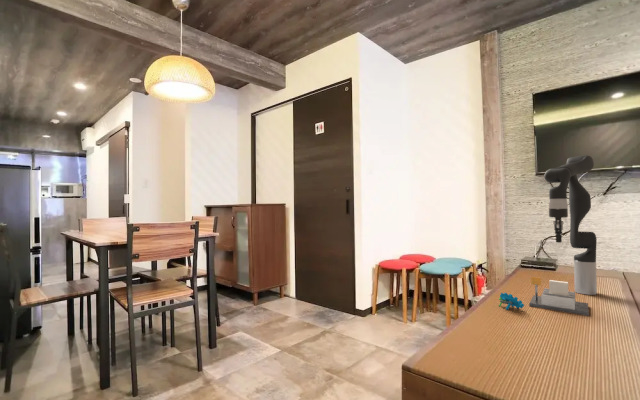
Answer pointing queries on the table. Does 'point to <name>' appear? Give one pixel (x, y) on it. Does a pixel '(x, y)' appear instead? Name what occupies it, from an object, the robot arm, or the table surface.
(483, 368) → the table surface
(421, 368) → the table surface
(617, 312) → the table surface
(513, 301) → the blue bumpy plastic figure
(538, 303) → the rack
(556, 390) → the table surface
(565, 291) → the block
